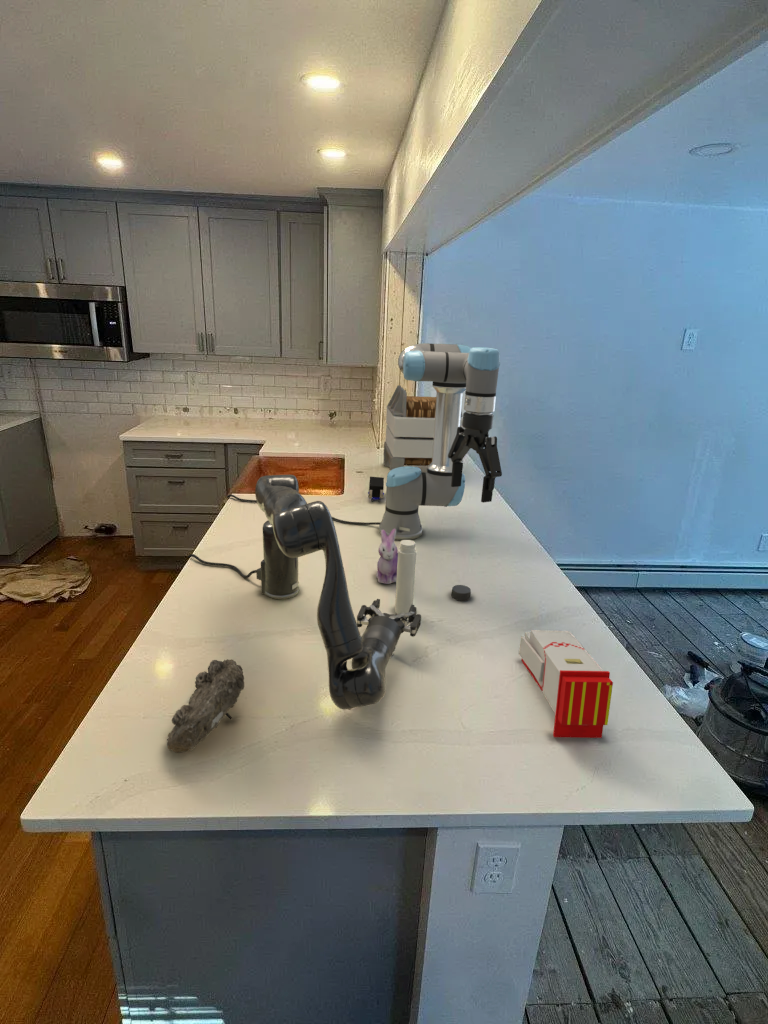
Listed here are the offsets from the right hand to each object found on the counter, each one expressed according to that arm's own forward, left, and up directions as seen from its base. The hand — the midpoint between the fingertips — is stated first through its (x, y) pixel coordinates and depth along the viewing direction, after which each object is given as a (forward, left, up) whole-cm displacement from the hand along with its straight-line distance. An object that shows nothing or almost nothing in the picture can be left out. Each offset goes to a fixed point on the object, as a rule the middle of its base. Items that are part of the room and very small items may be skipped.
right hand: (470, 493), depth 148 cm
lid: (0, 0, -28) cm, 28 cm away
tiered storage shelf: (-97, +78, -30) cm, 128 cm away
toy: (+41, -16, -30) cm, 53 cm away
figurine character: (-79, +35, -30) cm, 92 cm away
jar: (-3, -18, -30) cm, 36 cm away
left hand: (+3, -27, -23) cm, 35 cm away
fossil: (+5, -75, -30) cm, 81 cm away
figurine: (-20, -9, -30) cm, 37 cm away
